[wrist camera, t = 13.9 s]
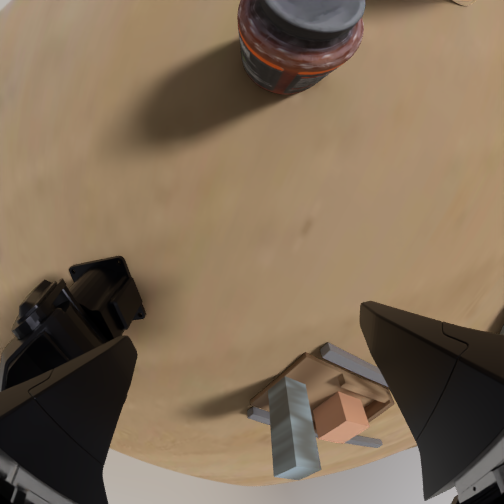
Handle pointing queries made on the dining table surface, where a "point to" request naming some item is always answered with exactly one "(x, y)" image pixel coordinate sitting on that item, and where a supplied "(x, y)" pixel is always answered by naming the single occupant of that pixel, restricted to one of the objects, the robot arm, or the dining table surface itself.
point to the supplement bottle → (297, 40)
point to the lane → (349, 363)
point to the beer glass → (464, 2)
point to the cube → (340, 418)
